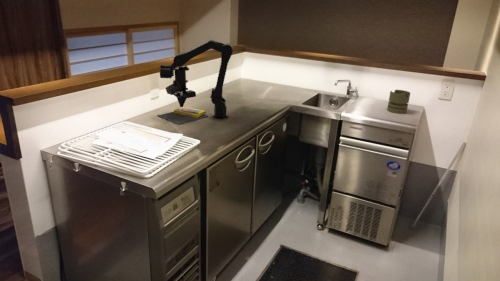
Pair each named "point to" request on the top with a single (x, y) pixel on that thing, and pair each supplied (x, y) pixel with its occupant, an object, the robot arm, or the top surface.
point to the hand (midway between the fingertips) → (181, 106)
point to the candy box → (189, 112)
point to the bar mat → (179, 118)
